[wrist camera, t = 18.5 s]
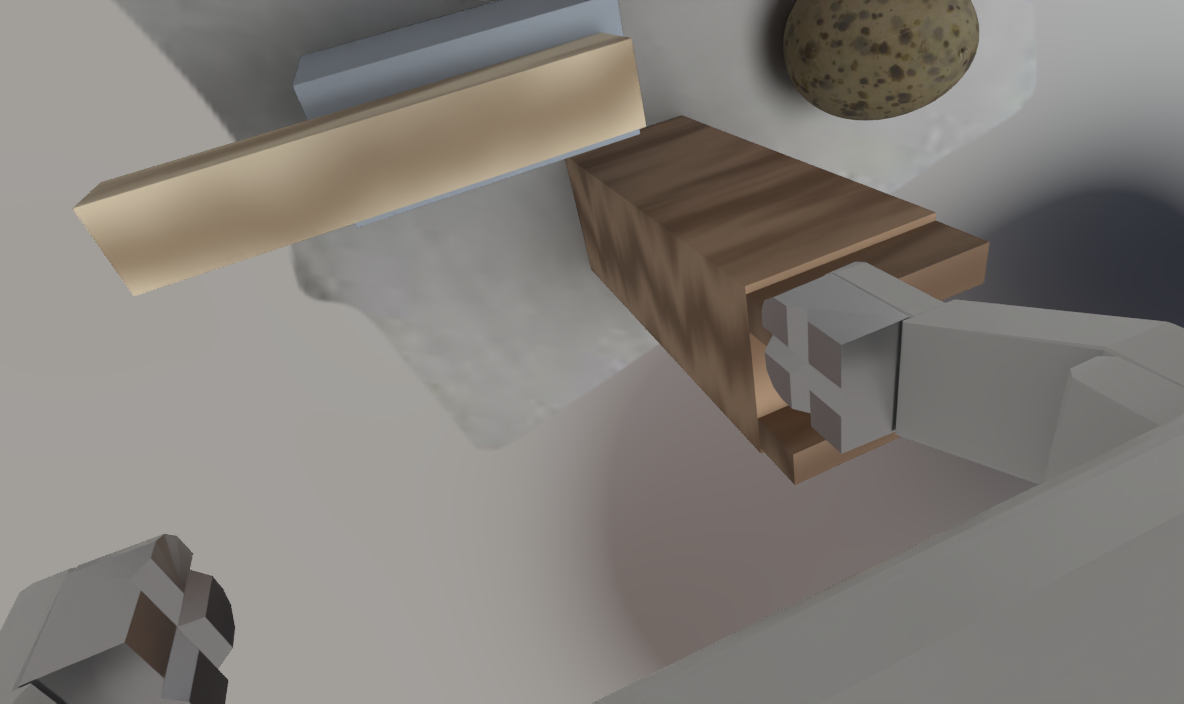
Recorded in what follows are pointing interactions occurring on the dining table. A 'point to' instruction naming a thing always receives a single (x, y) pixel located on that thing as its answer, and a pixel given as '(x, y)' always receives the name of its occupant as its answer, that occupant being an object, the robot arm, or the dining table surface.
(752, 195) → the walnut stand
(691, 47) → the dining table surface
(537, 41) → the slate block
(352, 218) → the maple bar
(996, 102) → the dining table surface
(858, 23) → the decorative egg
